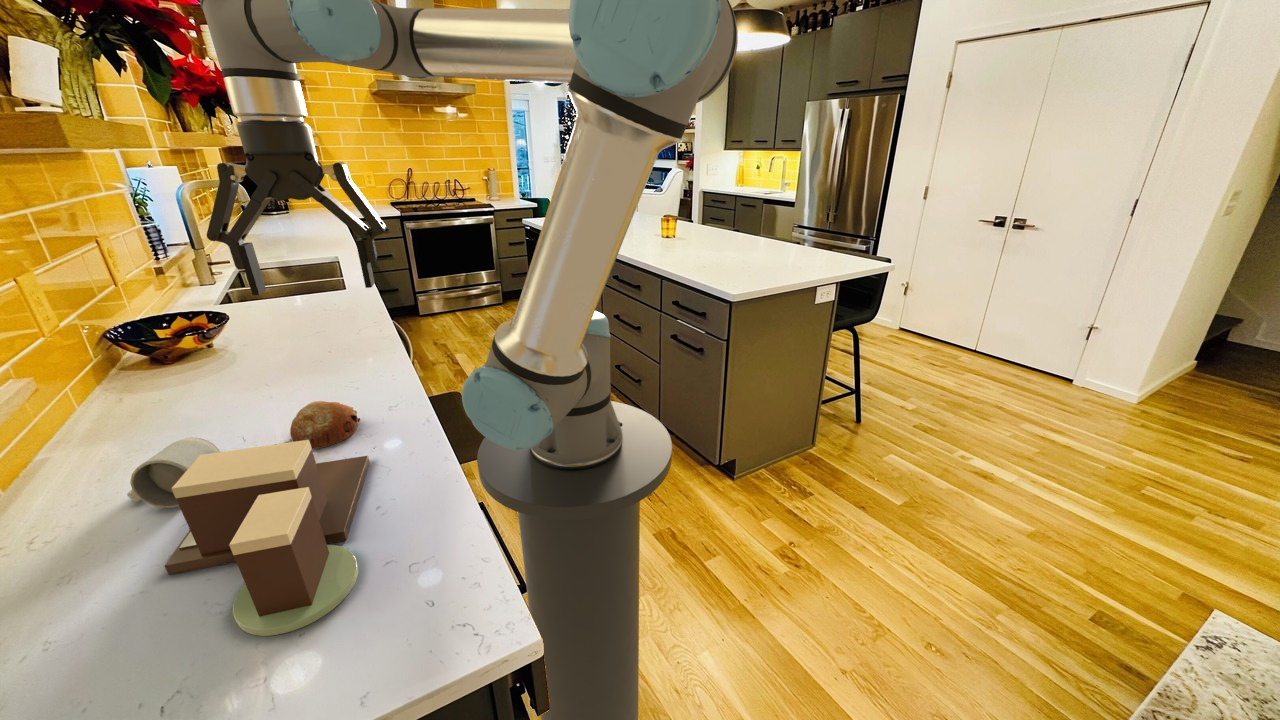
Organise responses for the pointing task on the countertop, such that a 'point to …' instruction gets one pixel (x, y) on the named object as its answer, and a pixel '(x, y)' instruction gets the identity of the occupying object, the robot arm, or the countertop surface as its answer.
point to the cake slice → (281, 551)
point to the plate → (329, 594)
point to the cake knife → (188, 542)
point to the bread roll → (324, 423)
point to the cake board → (335, 521)
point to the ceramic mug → (166, 471)
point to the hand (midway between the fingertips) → (316, 289)
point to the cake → (241, 488)
